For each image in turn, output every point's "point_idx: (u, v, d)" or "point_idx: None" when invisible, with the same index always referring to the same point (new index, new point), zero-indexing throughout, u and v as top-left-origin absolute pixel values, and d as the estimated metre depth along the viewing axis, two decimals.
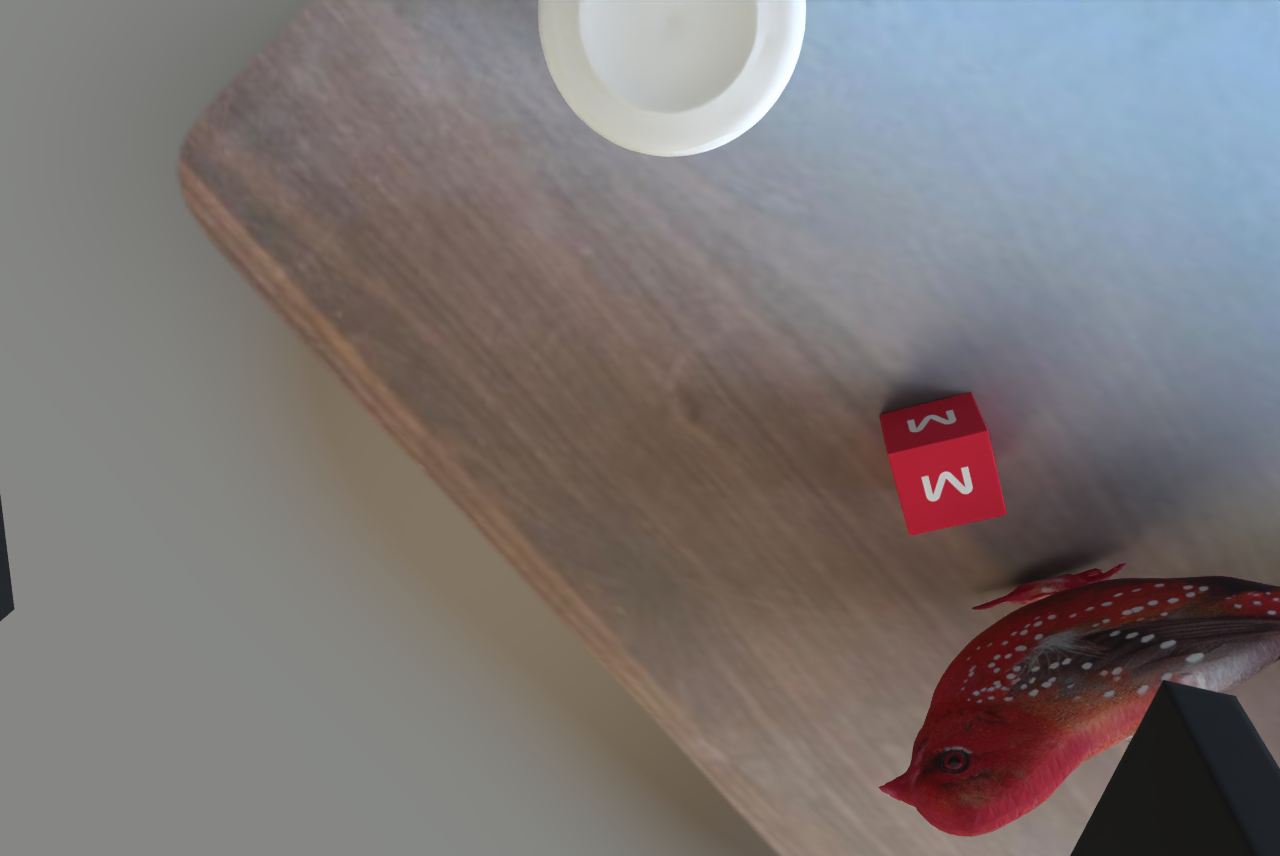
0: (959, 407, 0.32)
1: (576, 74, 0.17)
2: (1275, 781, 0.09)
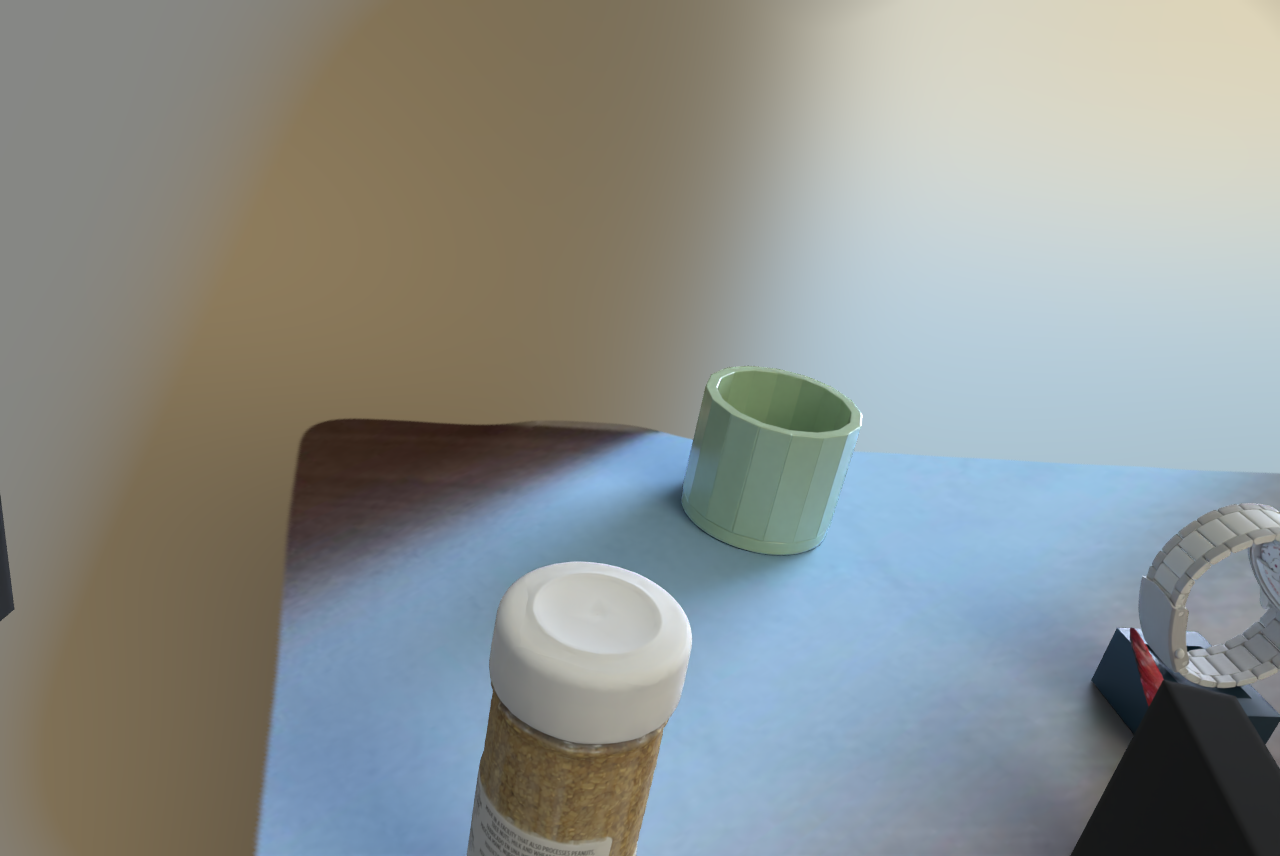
0: None
1: (599, 665, 0.21)
2: (1276, 781, 0.09)
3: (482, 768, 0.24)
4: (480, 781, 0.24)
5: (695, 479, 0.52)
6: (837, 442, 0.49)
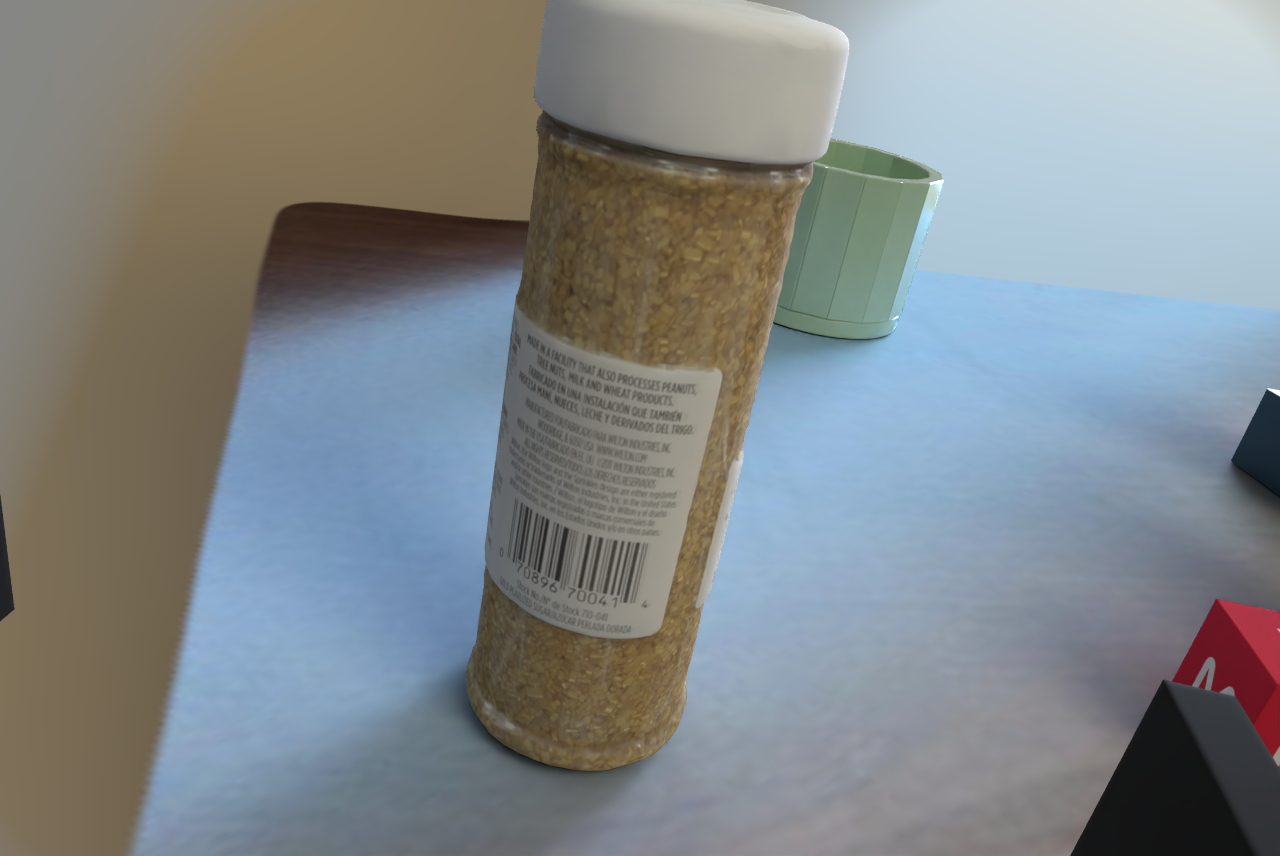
0: (1187, 681, 0.23)
1: (720, 10, 0.13)
2: (1276, 781, 0.09)
3: (521, 294, 0.16)
4: (518, 309, 0.16)
5: None
6: (918, 191, 0.41)
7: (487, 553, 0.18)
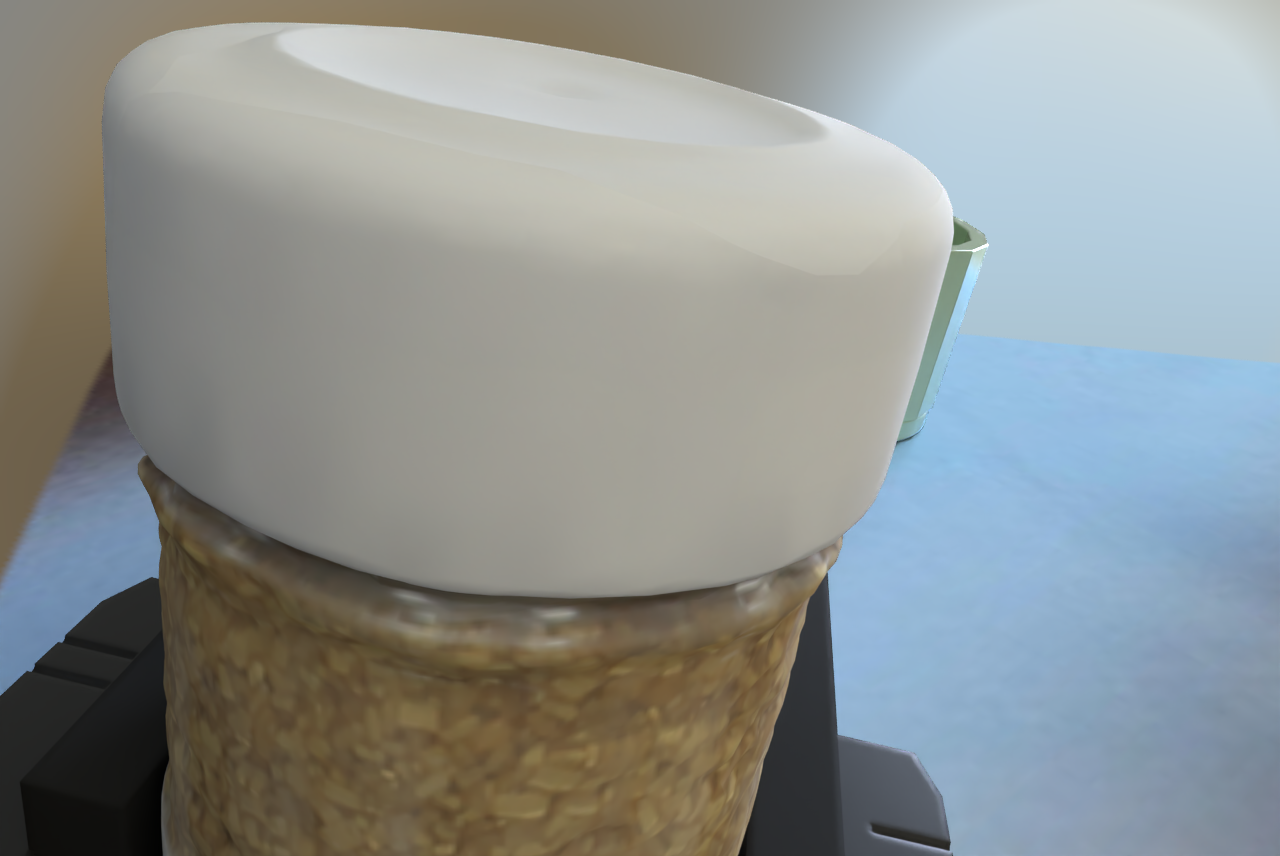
0: None
1: (558, 158, 0.04)
2: None
3: None
4: (164, 787, 0.07)
5: None
6: (958, 261, 0.32)
7: None
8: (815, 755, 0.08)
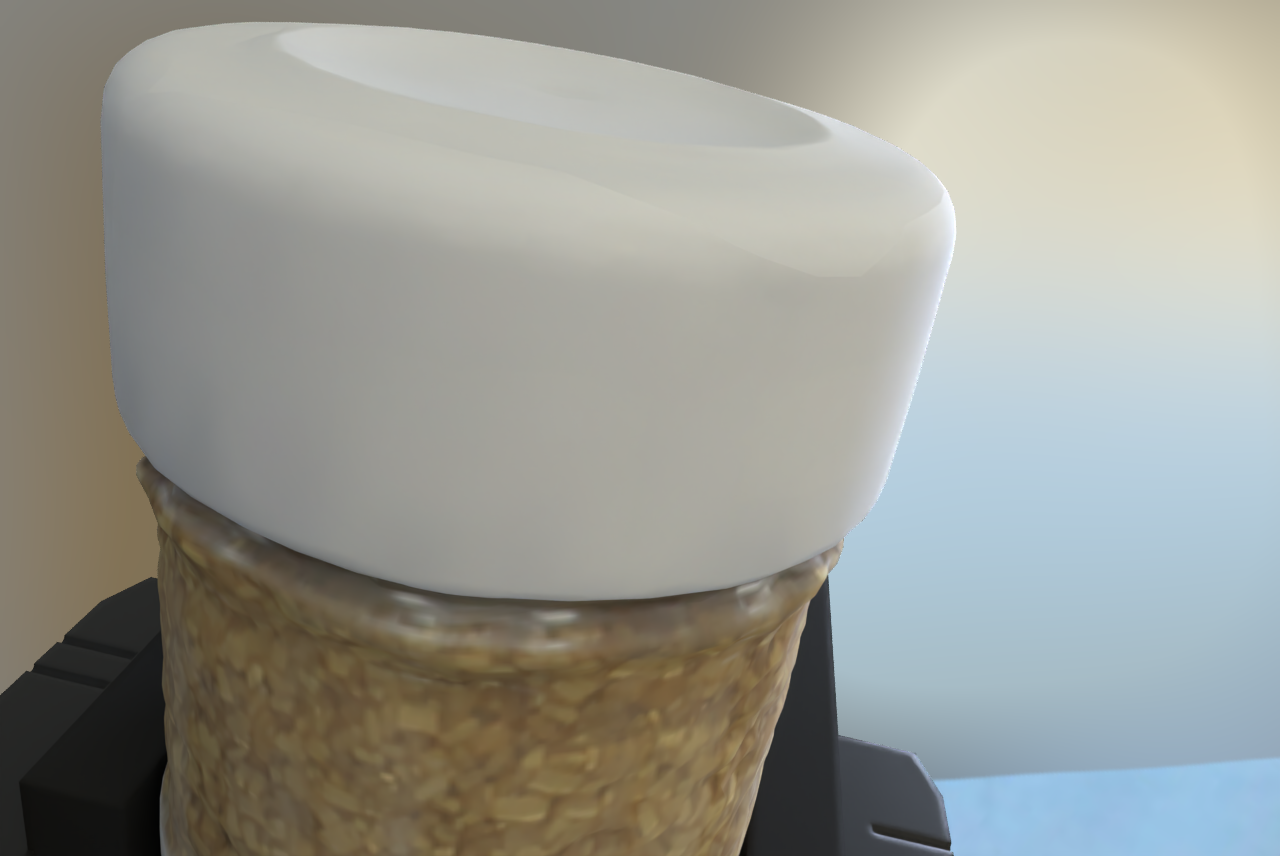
0: None
1: (560, 157, 0.04)
2: None
3: None
4: (162, 788, 0.07)
5: None
6: None
7: None
8: (815, 755, 0.08)
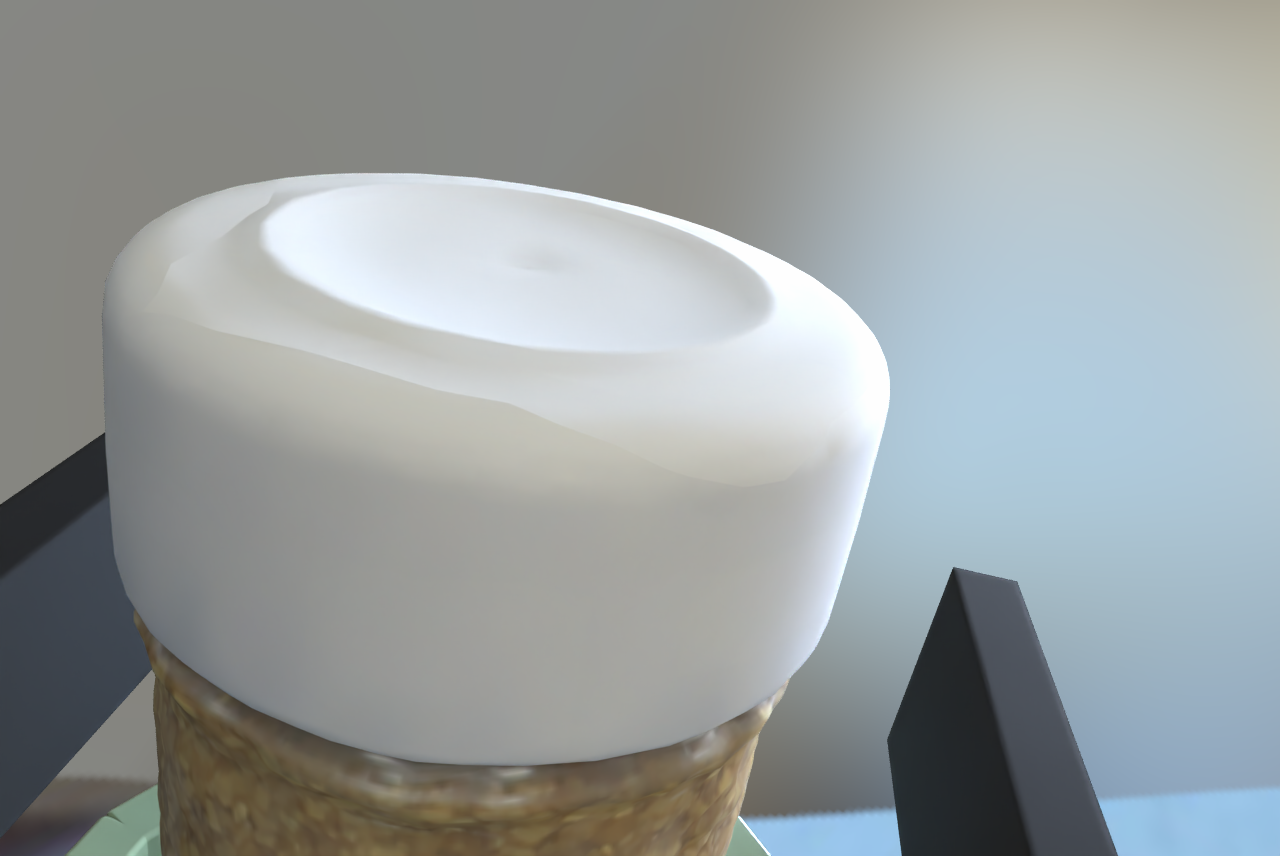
0: None
1: (511, 384, 0.04)
2: (1029, 644, 0.10)
3: None
4: None
5: None
6: None
7: None
8: None
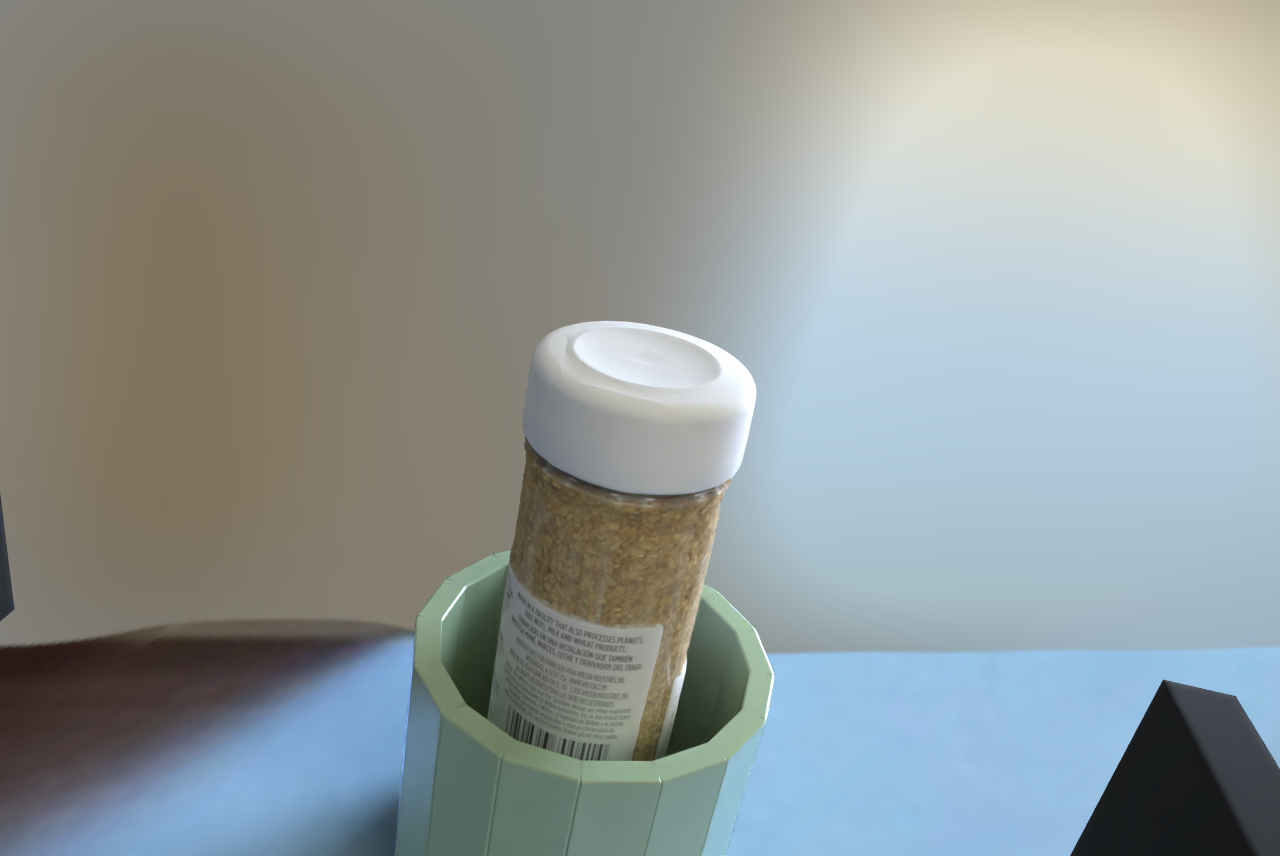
0: None
1: (653, 396, 0.18)
2: (1276, 781, 0.09)
3: (513, 555, 0.21)
4: (511, 568, 0.21)
5: (401, 822, 0.23)
6: (702, 781, 0.20)
7: None
8: None
